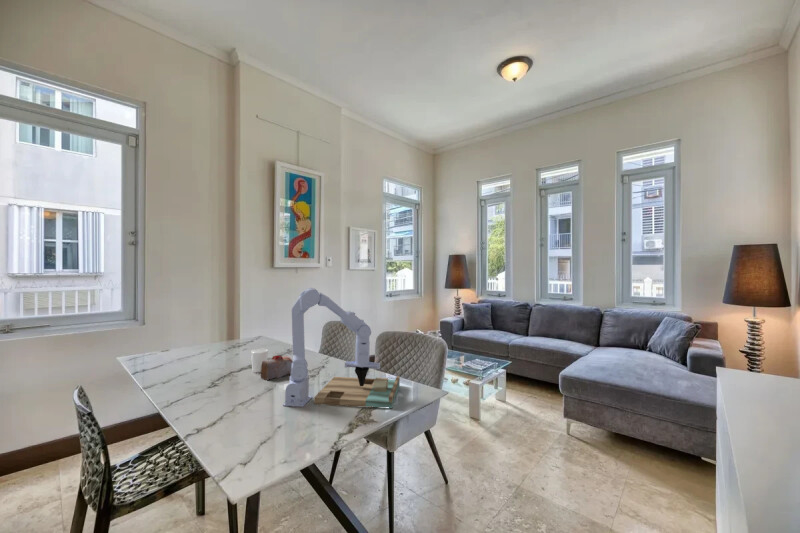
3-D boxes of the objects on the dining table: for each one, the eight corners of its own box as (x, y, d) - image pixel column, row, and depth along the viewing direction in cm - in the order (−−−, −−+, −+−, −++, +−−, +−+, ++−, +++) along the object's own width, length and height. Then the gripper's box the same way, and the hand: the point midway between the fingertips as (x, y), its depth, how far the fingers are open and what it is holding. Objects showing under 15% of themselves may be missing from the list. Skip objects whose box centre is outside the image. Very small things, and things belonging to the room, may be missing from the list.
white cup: (263, 373, 159) (263, 352, 159) (247, 373, 159) (248, 352, 159) (270, 368, 167) (270, 348, 167) (255, 368, 167) (255, 348, 167)
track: (391, 409, 121) (391, 397, 121) (314, 404, 124) (314, 392, 124) (399, 385, 145) (399, 376, 145) (334, 382, 148) (334, 372, 148)
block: (385, 392, 131) (386, 382, 131) (373, 391, 131) (373, 381, 131) (387, 387, 136) (388, 377, 136) (376, 386, 136) (376, 377, 136)
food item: (285, 371, 163) (285, 351, 163) (294, 374, 158) (294, 354, 158) (259, 378, 153) (259, 357, 153) (268, 381, 148) (268, 360, 148)
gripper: (381, 350, 138) (380, 382, 138) (348, 349, 139) (347, 380, 139) (378, 355, 131) (377, 389, 131) (343, 353, 132) (342, 386, 132)
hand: (361, 385), depth 135 cm, fingers closed
